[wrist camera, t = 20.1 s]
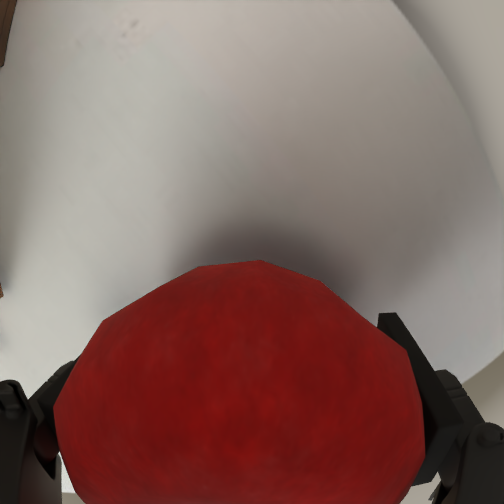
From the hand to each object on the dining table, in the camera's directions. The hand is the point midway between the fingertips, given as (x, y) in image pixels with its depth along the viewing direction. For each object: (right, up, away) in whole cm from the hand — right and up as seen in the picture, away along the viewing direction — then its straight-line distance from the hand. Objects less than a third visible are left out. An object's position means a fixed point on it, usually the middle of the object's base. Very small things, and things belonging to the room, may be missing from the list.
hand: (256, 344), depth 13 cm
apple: (0, 0, +1) cm, 1 cm away
